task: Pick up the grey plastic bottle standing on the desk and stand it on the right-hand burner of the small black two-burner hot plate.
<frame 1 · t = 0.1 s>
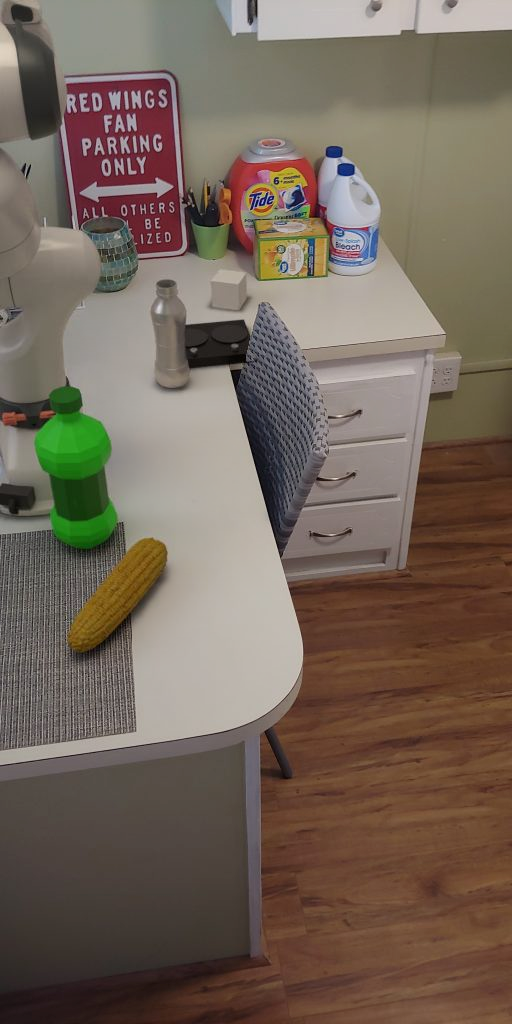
plastic bottle 2: (87, 538, 139), on the worktop
plastic bottle: (172, 384, 174), on the worktop
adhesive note: (229, 303, 200), on the worktop
hot plate: (210, 348, 184), on the worktop
food: (122, 609, 128), on the worktop
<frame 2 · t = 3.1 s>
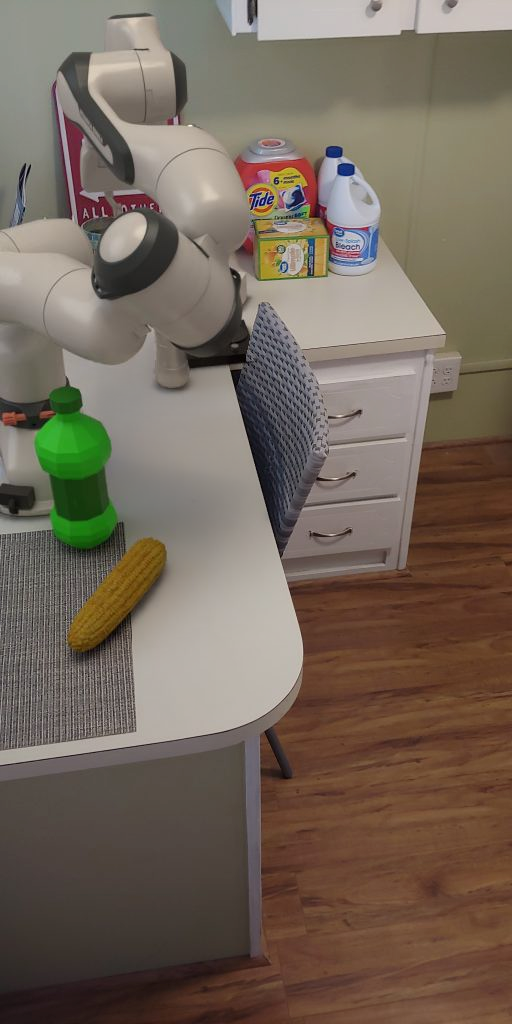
hand: (146, 213, 154), 32 cm above the worktop, tool pointing down, fingers open, 8 cm apart
nothing on the worktop moved.
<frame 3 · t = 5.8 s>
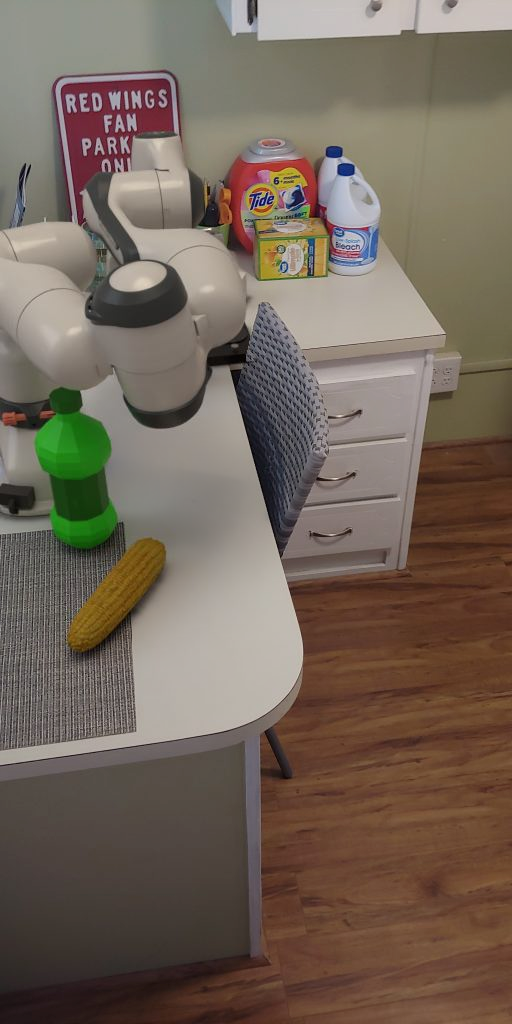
hand: (167, 306, 164), 16 cm above the worktop, tool pointing down, fingers closed on plastic bottle, 6 cm apart
plastic bottle: (172, 384, 174), on the worktop, touching gripper
everything else where it was.
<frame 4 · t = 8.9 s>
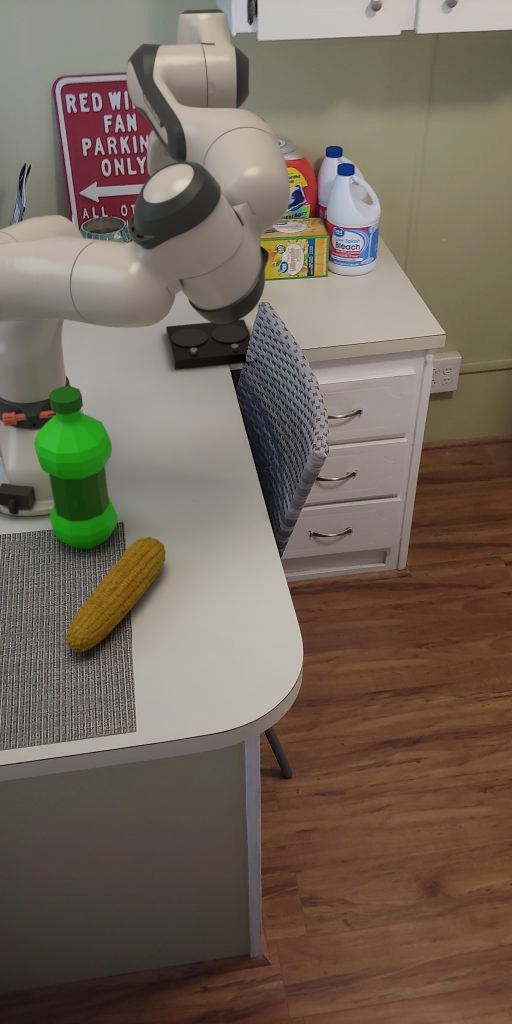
hand: (207, 200, 162), 31 cm above the worktop, tool pointing down, fingers closed on plastic bottle, 6 cm apart
plastic bottle: (210, 284, 172), point 15 cm above the worktop, touching gripper
everything else where it was.
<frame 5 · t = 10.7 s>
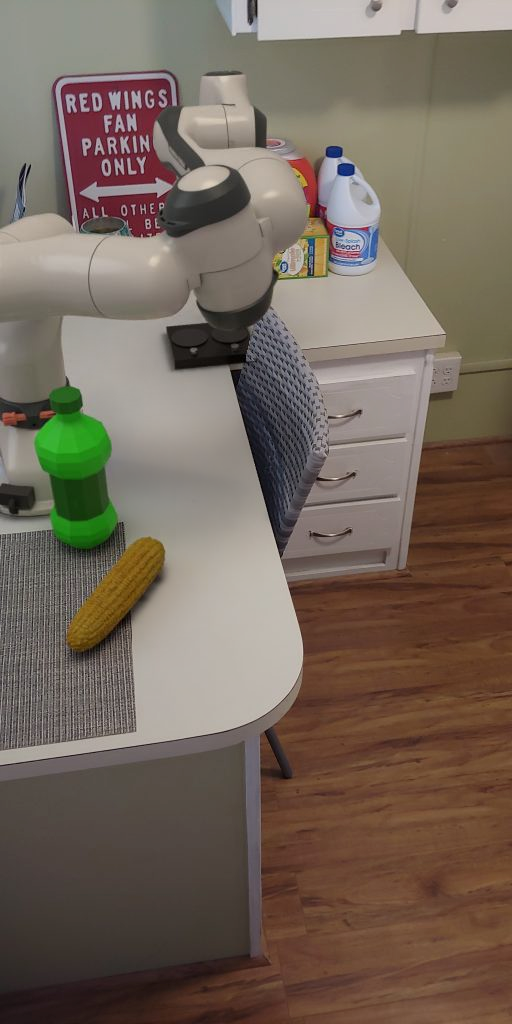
hand: (227, 243, 173), 21 cm above the worktop, tool pointing down, fingers closed on plastic bottle, 6 cm apart
plastic bottle: (229, 321, 182), point 5 cm above the worktop, touching gripper
everything else where it was.
when the fingers open (18 cm above the worktop, at t = 12.1 s): plastic bottle stays where it is, resting on hot plate.
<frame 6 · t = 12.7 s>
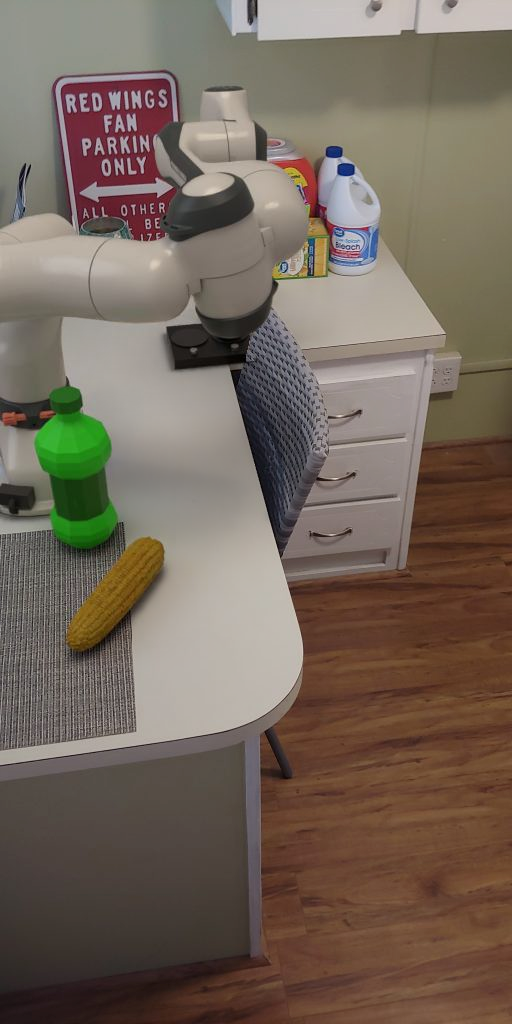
hand: (227, 255, 174), 18 cm above the worktop, tool pointing down, fingers open, 8 cm apart
plastic bottle: (229, 334, 184), point 2 cm above the worktop, touching hot plate
everything else where it was.
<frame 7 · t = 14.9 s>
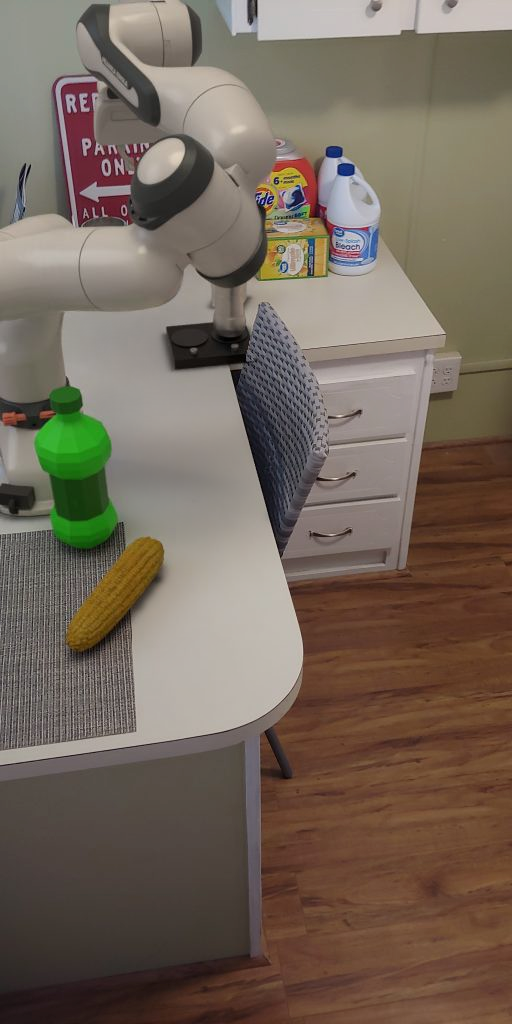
hand: (157, 168, 159), 36 cm above the worktop, tool pointing down, fingers open, 8 cm apart
nothing on the worktop moved.
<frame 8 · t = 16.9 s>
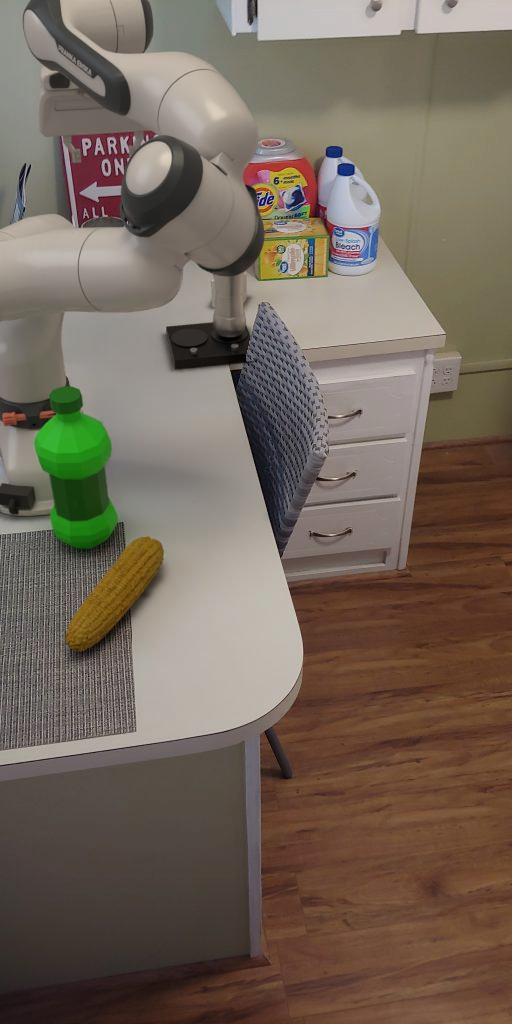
hand: (105, 159, 154), 39 cm above the worktop, tool pointing down, fingers open, 8 cm apart
nothing on the worktop moved.
at the end: plastic bottle inside the target area on the hot plate (0.5 cm from its centre), point 2.1 cm above the hot plate's base; plastic bottle tilted 0°; the gripper is holding nothing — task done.
